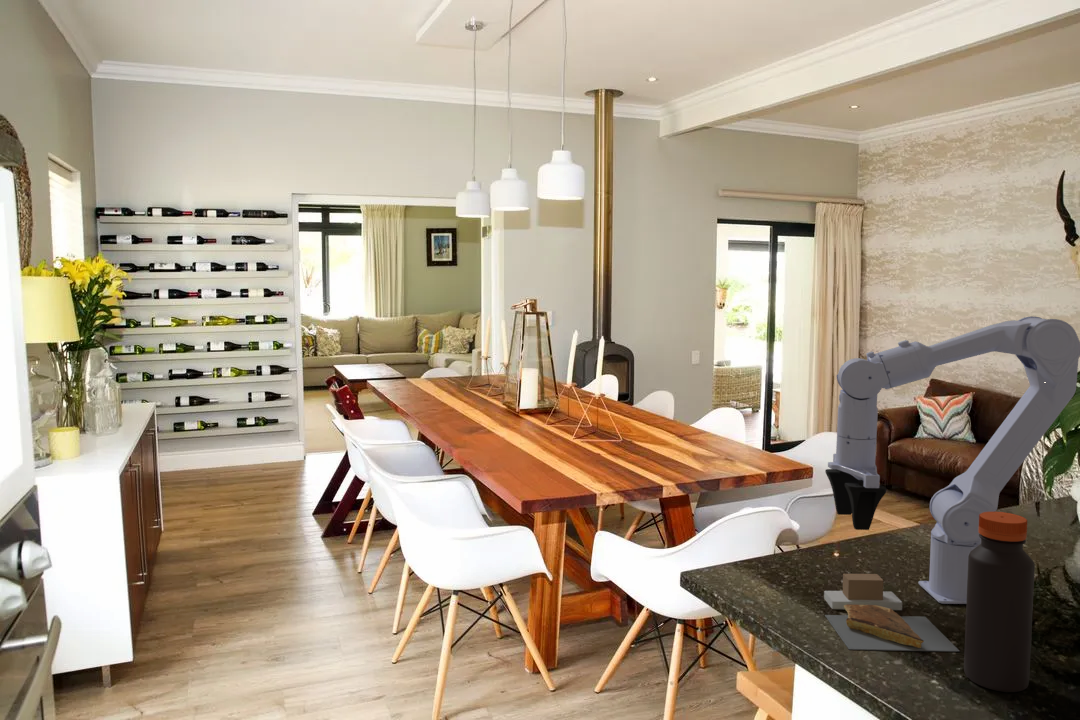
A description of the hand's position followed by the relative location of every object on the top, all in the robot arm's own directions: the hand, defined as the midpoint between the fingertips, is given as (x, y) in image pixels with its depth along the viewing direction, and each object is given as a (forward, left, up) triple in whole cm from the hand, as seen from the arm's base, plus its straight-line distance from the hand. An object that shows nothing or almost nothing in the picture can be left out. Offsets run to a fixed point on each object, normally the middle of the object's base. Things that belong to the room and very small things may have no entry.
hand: (852, 521), depth 122 cm
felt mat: (0, +17, -10) cm, 20 cm away
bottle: (-8, +29, -11) cm, 32 cm away
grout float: (+1, +7, -11) cm, 13 cm away
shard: (0, +16, -11) cm, 19 cm away
